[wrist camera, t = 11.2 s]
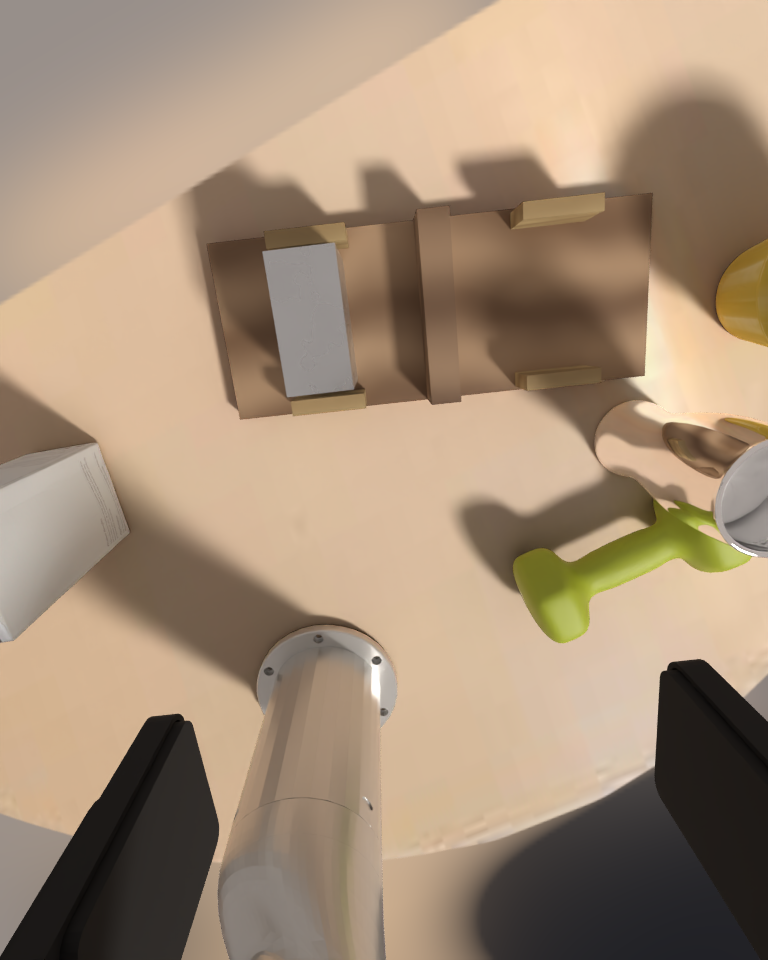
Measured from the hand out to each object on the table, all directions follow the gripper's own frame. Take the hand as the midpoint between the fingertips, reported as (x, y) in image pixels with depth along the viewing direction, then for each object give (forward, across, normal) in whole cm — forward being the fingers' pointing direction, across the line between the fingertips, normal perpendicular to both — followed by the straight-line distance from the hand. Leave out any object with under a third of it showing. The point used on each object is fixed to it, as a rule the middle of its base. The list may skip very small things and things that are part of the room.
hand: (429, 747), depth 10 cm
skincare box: (+30, +25, +2) cm, 39 cm away
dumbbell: (+31, -17, +11) cm, 37 cm away
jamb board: (+30, -4, -9) cm, 32 cm away
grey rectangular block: (+29, +4, -9) cm, 30 cm away
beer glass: (+30, -19, +2) cm, 36 cm away
